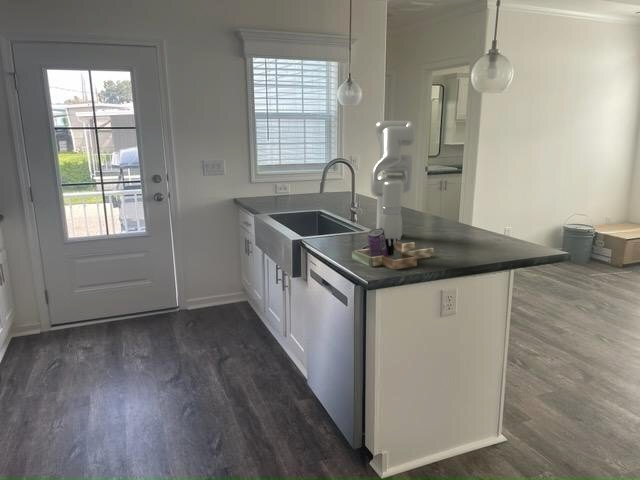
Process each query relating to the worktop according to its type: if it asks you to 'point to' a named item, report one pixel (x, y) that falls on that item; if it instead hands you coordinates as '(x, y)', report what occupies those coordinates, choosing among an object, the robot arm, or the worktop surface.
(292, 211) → the worktop surface
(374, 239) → the beverage can
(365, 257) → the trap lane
